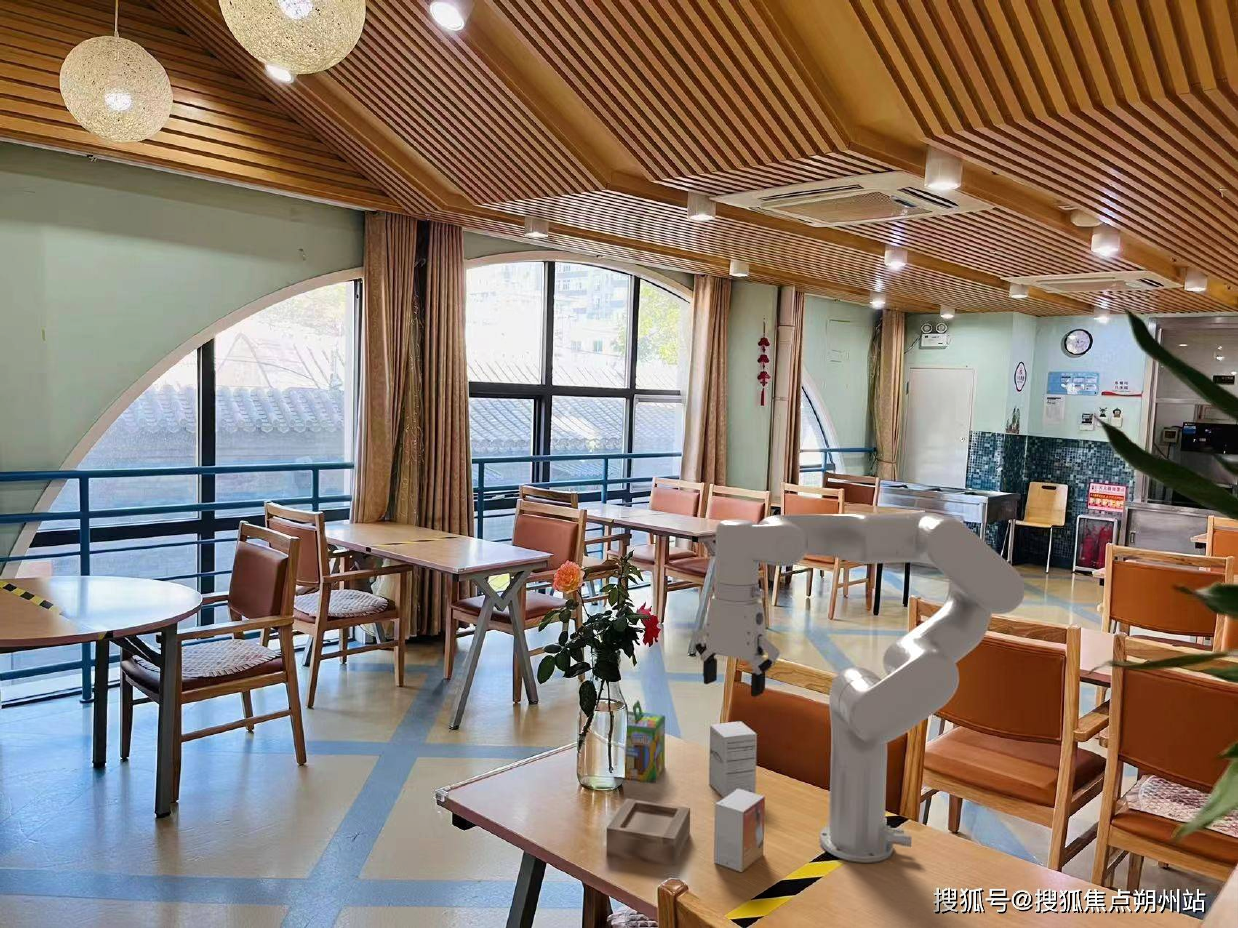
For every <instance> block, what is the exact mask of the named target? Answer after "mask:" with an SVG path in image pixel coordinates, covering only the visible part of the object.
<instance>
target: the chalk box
mask: <svg viewBox="0 0 1238 928" xmlns="http://www.w3.org/2000/svg"><path fill="white" fill-rule="evenodd" d="M637 709H638V711H637ZM627 711H628V724H627V749H626V763H625V778H624V779H627V780H632V781H633V780H634V781H635V780H636V781H642V782H649V783H656V781H657V780H658V778H659V776H660V774H661V773H662V772H663V770H664V769H665V765H666V764H665V763H666V762H665V761H666V759H665V758H666V757H665V756H666V755H665V754H666V751H665V750H666V749H665V747H666V746H665V745H666V744H665V743H666V741H665V740H666V739H665V738H666V716H665V715H663V714H661V715H660V714H656V713H655V714H654V713H650V712H644V711H643V709H642V706H641V702H640V700H636V702H635V703H634V704H633V705H632V711H629V710H627Z"/></svg>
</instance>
